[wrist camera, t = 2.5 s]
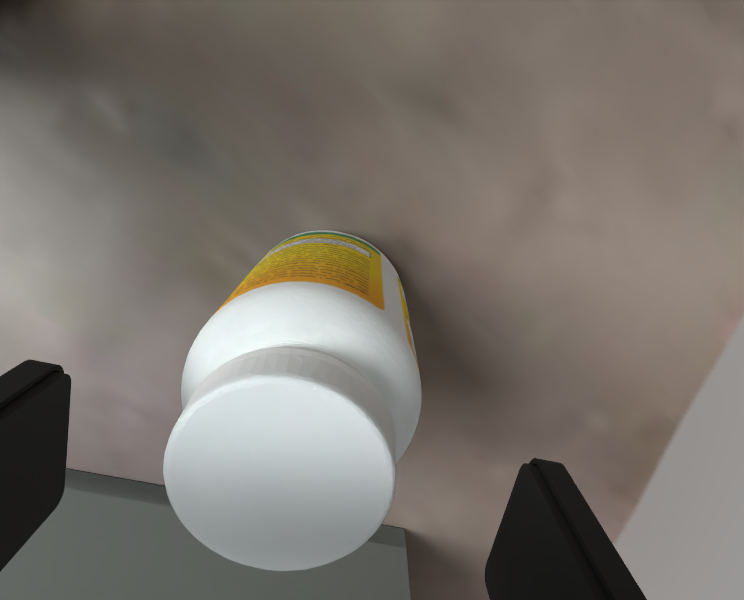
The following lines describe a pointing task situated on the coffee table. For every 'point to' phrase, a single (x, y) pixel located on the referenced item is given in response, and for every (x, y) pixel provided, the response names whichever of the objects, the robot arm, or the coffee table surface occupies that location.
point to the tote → (174, 556)
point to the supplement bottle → (297, 407)
